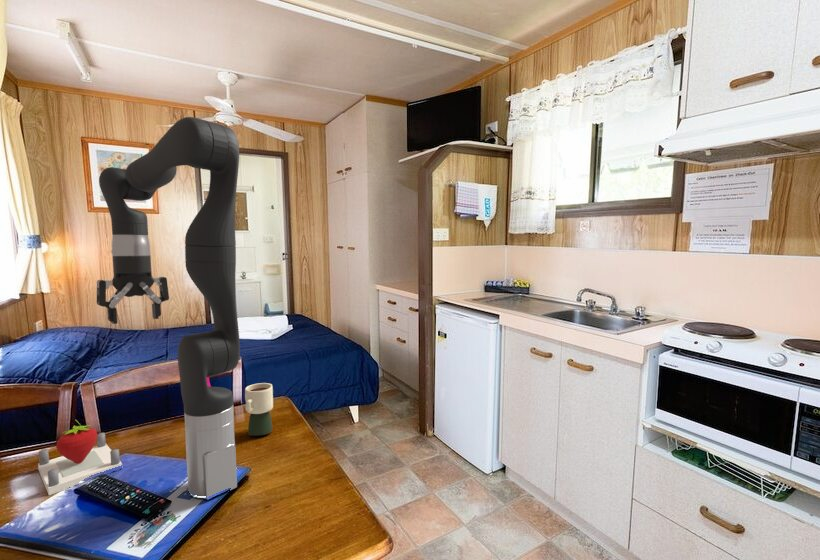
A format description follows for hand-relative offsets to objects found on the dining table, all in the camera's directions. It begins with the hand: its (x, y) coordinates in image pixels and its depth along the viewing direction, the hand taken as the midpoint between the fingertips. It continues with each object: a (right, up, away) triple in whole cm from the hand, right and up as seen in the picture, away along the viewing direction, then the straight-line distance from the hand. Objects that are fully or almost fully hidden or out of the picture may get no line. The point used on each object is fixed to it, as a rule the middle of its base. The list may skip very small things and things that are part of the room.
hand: (135, 320), depth 96 cm
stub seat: (-9, -34, -5) cm, 35 cm away
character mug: (+26, -32, +12) cm, 43 cm away
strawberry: (-9, -32, -5) cm, 34 cm away
